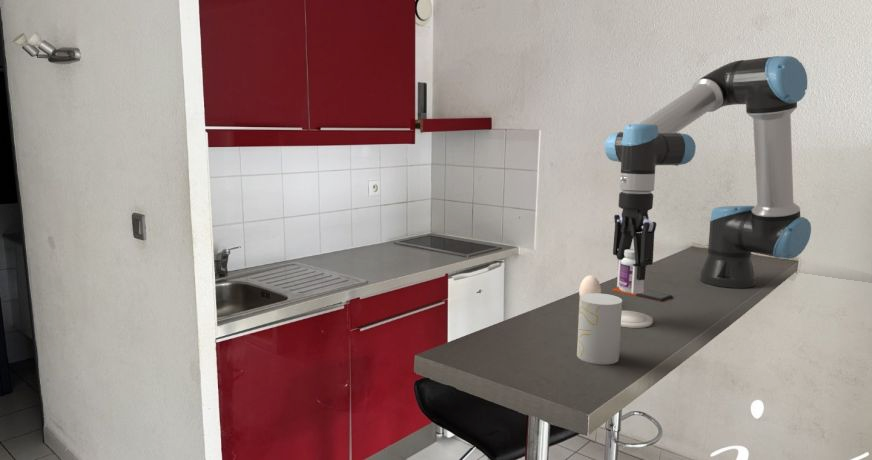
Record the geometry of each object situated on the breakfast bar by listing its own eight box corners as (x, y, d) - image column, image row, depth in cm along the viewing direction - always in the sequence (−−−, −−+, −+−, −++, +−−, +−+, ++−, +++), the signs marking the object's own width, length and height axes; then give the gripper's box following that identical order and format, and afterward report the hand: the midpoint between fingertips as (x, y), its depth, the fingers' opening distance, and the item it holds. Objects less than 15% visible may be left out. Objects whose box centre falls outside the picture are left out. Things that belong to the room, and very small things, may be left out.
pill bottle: (630, 294, 138) (633, 253, 137) (614, 289, 143) (616, 249, 141) (647, 291, 141) (650, 251, 139) (630, 286, 145) (633, 247, 144)
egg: (604, 306, 155) (606, 276, 153) (589, 309, 152) (590, 279, 151) (589, 301, 159) (590, 272, 158) (574, 304, 157) (575, 274, 155)
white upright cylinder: (571, 349, 124) (574, 293, 122) (609, 348, 125) (613, 292, 123) (584, 364, 116) (587, 305, 114) (625, 363, 117) (629, 304, 115)
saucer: (635, 312, 150) (635, 308, 150) (662, 326, 139) (662, 321, 139) (595, 315, 147) (596, 311, 147) (620, 329, 136) (620, 325, 136)
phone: (624, 284, 174) (673, 295, 163) (624, 288, 174) (673, 299, 163) (612, 288, 170) (661, 299, 159) (611, 292, 170) (661, 304, 159)
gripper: (601, 188, 146) (595, 281, 150) (645, 196, 128) (638, 301, 132) (628, 187, 148) (622, 279, 151) (675, 195, 130) (667, 299, 134)
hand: (629, 289), depth 142 cm, fingers closed on pill bottle, 5 cm apart
